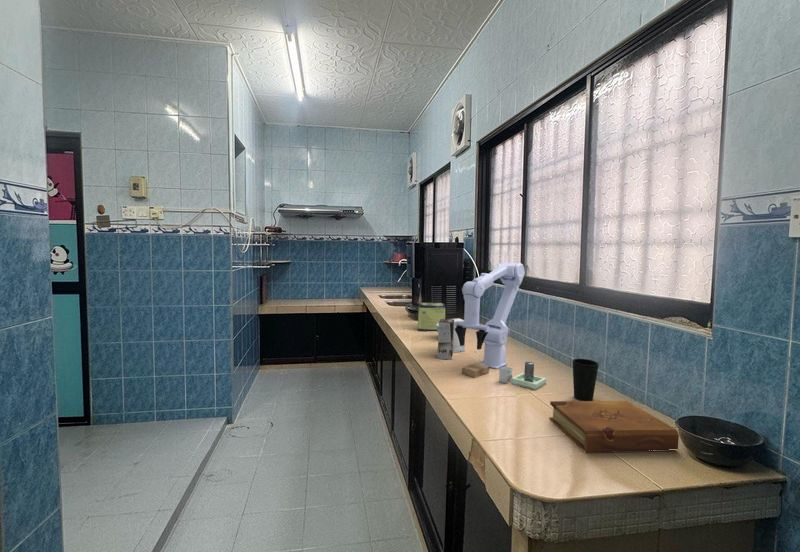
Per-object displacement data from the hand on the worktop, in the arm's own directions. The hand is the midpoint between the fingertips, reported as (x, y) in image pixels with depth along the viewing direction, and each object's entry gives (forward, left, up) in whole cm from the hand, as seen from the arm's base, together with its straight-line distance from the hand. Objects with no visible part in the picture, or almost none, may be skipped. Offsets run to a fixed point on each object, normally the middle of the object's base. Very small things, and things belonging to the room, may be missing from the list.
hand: (470, 347), depth 151 cm
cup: (-3, +41, -10) cm, 42 cm away
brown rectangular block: (+1, +3, -10) cm, 10 cm away
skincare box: (-21, -22, -10) cm, 32 cm away
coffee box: (-10, -19, -10) cm, 24 cm away
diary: (+19, +54, -10) cm, 58 cm away
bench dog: (+1, +16, -10) cm, 18 cm away
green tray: (-3, +23, -10) cm, 25 cm away
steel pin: (-3, +23, -9) cm, 24 cm away
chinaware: (-39, -37, -10) cm, 55 cm away
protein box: (-51, -59, -10) cm, 79 cm away
